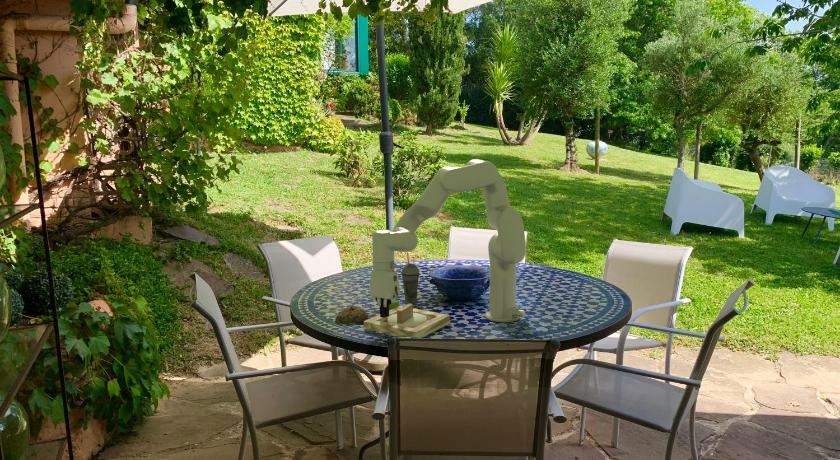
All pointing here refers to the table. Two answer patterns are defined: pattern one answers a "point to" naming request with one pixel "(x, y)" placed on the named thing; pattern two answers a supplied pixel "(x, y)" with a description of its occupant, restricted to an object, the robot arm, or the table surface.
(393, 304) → the toy figurine
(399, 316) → the dial
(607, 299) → the table surface
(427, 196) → the robot arm
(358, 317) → the bread roll
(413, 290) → the beverage cup
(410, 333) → the tray
